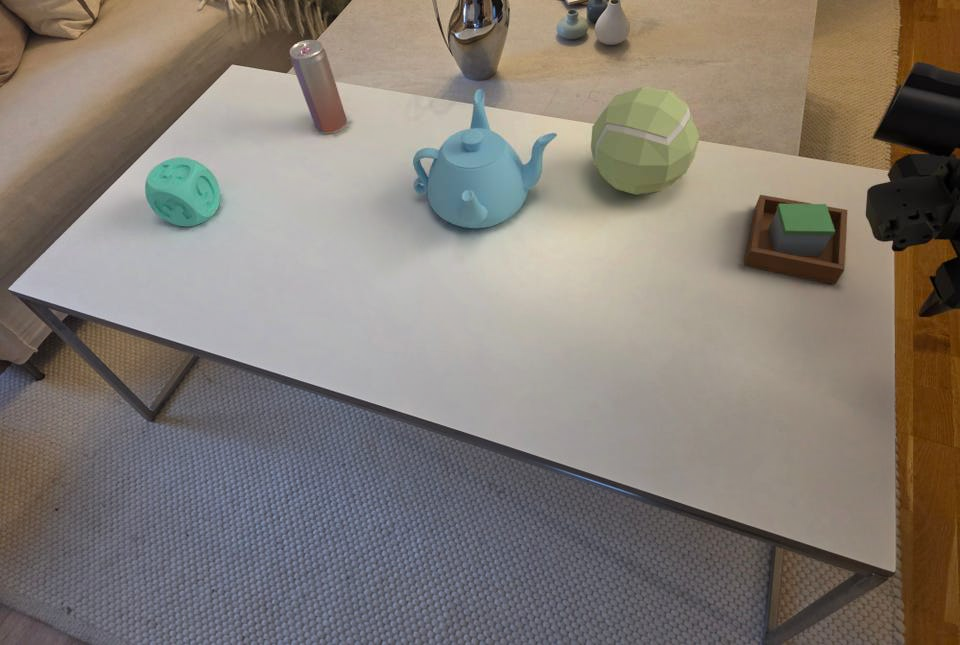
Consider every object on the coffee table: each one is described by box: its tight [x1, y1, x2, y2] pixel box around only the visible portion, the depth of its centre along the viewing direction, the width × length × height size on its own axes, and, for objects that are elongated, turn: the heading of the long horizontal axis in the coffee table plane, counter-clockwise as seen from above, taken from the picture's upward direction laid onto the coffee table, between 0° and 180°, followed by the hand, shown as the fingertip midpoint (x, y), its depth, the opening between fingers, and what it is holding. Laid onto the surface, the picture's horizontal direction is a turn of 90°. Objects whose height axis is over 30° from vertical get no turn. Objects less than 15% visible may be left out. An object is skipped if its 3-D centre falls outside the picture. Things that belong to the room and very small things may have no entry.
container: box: [768, 203, 835, 256], centre depth 81 cm, size 6×5×5 cm
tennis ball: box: [590, 86, 700, 196], centre depth 88 cm, size 15×15×15 cm
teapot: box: [412, 88, 558, 229], centre depth 89 cm, size 17×19×12 cm
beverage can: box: [289, 39, 347, 135], centre depth 104 cm, size 6×6×15 cm
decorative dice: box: [144, 156, 221, 227], centre depth 96 cm, size 8×8×8 cm
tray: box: [744, 194, 848, 285], centre depth 82 cm, size 12×12×3 cm
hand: (909, 281), depth 64 cm, fingers open, 9 cm apart
